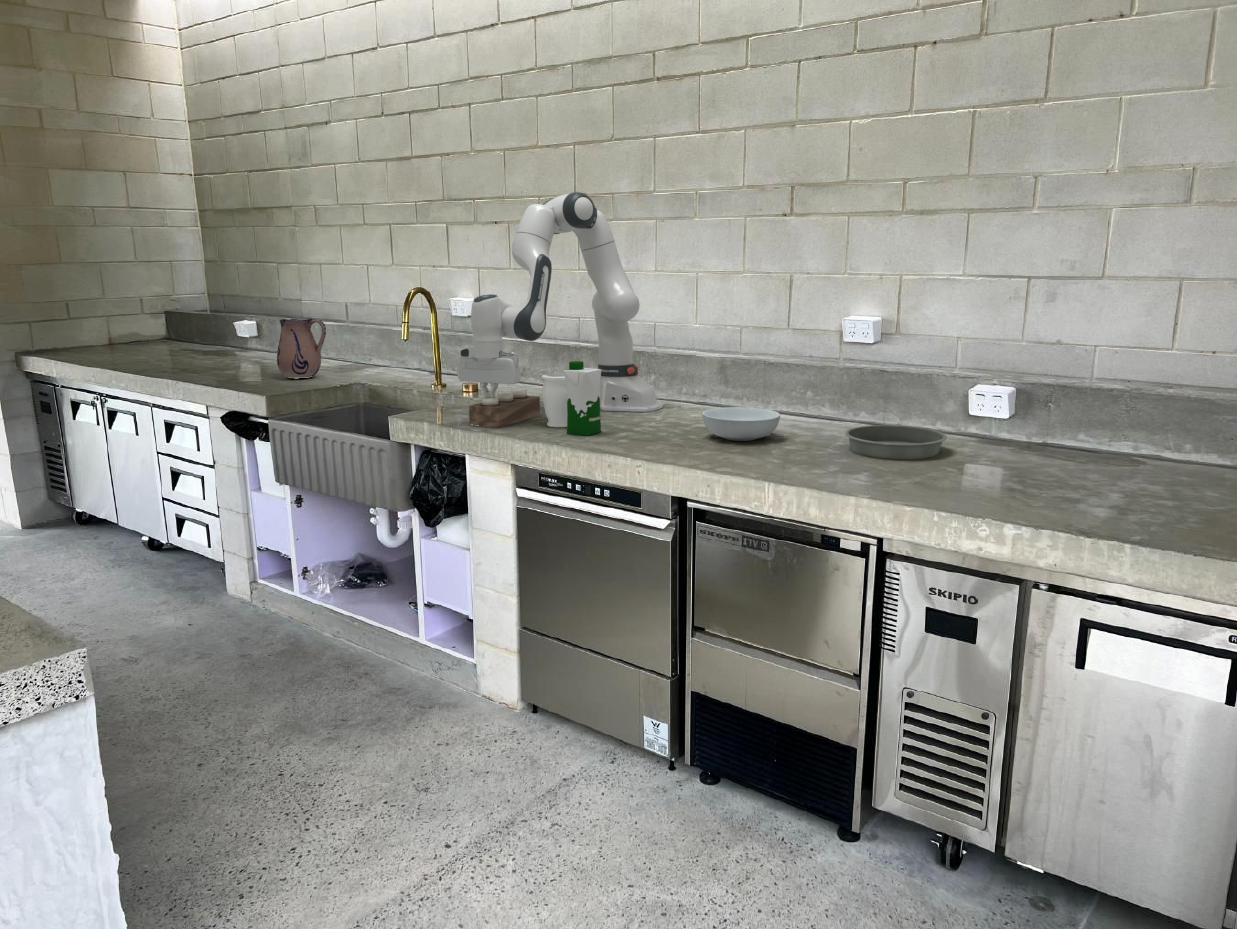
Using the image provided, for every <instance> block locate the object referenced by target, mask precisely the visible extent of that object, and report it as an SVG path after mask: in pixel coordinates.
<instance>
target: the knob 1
mask: <svg viewBox="0 0 1237 929" xmlns="http://www.w3.org/2000/svg"><path fill="white" fill-rule="evenodd" d="M481 399H482V400H481V403H482V405H484V406H490V407H494V406H497V405H498V404H499V401H498V397H497V396H495V398H484V396H483V397H482V398H481Z"/></svg>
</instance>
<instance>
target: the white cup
mask: <svg viewBox="0 0 1237 929" xmlns="http://www.w3.org/2000/svg"><path fill="white" fill-rule="evenodd" d="M541 379H542V381H543V385H542V392H541V393H542V394H541V395H542V396H541V397H542V403H543V407H544V413H545V417H546V418H547V419H548V421H547V423H546V426H547V427H550V428H567V385H566V380H565V375H564V372H562V373H561V372H560V373H559V372H558V373H555V372H554V373H547V374H543V375H541Z"/></svg>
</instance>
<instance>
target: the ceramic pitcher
mask: <svg viewBox="0 0 1237 929" xmlns="http://www.w3.org/2000/svg"><path fill="white" fill-rule="evenodd" d="M279 323H280V327H281V328H280V337H279V342H278V347H277V353H276V363H277V364H276V365H277V367H278V370H279V371H280V373H281V374H282V375H283V377H285V378H287V377H310V376H314V377H315V376H316V375H317V374H318V373H319V371H320V369H321V365H322V354H321V352H322V348H323V345H324V342H325V339H326V335H327V328H326V325H325V322H323V321H322V320H321V319H317V318H310V317H309V318H302V317H301V318H299V317H298V318H290V319H287V318H281V319H279ZM314 324H319V326H320V328H321V336H320V338H319V341H318V343H317V342H316V339H315V337H314V334H313V332H312V330H311V329H312V326H313V325H314Z"/></svg>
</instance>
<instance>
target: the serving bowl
mask: <svg viewBox="0 0 1237 929" xmlns="http://www.w3.org/2000/svg"><path fill="white" fill-rule="evenodd" d="M701 414H702V420H703V423H704V426H705V428H706V429H707V430H708V431H709V432H710V433H711V434H713V435H715V436H717V437H720V438H723V439H725V440H728V441H737V442H743V441H744V442H747V441H754V440H757V439H761V438H764V437H768V436H769V435H771V434H772V433H773V432H774V431H775V430H776V429H777V427H778V426H779V422H780V418H781V414H780V412H777V411H775V410H772V409H766V408H760V407H759V408H758V407H746V406H745V407H744V406H736V407H735V406H731V407H730V406H729V407H716V408H712V409H711V408H710V409H706V410H704V411H703V412H702V413H701Z"/></svg>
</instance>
